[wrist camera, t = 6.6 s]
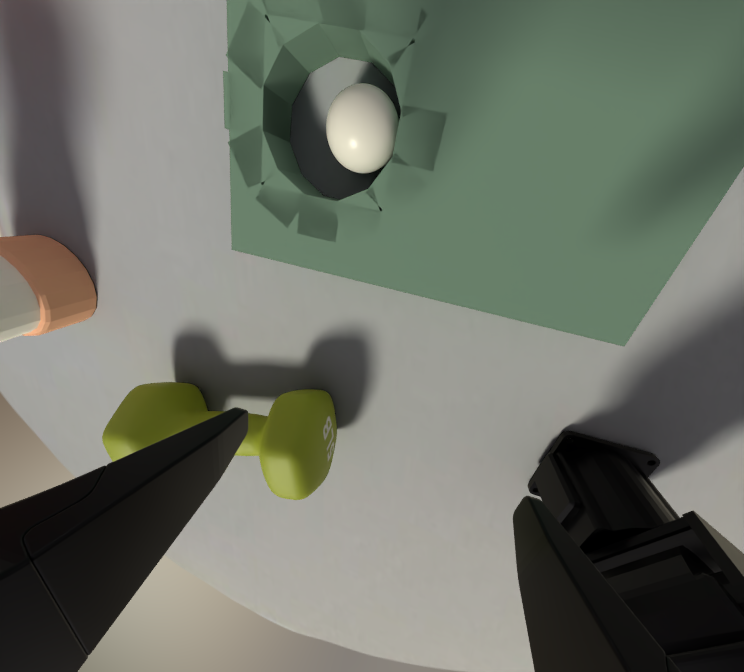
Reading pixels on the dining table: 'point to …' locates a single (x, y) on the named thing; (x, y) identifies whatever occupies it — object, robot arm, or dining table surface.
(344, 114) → the ball
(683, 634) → the robot arm
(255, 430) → the dumbbell
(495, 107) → the green slab with hollow
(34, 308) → the salt shaker
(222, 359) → the dining table surface
